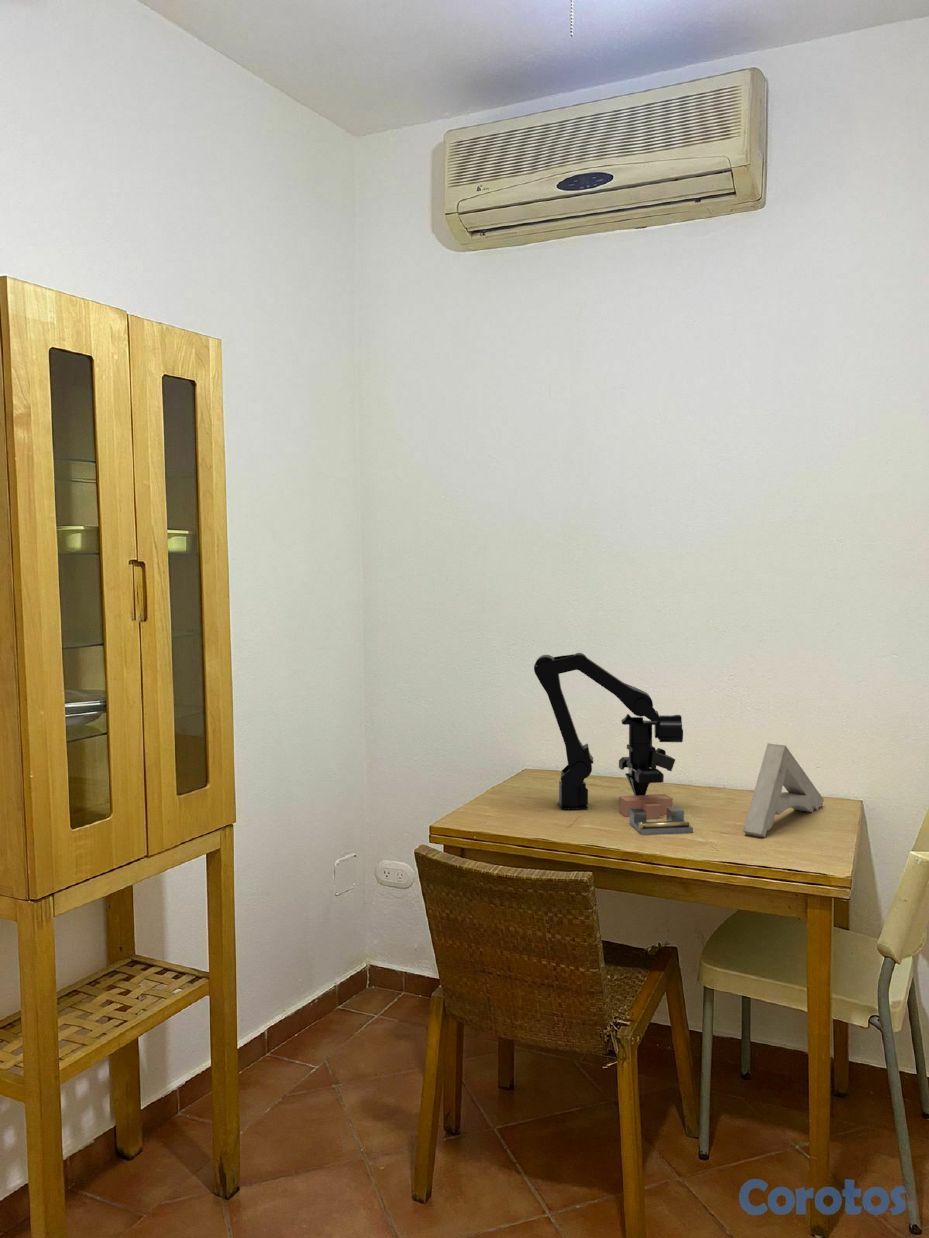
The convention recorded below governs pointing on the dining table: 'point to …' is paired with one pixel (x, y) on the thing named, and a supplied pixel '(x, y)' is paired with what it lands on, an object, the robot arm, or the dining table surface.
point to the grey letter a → (779, 790)
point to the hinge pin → (662, 824)
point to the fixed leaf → (672, 816)
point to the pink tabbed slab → (646, 804)
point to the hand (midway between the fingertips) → (640, 803)
